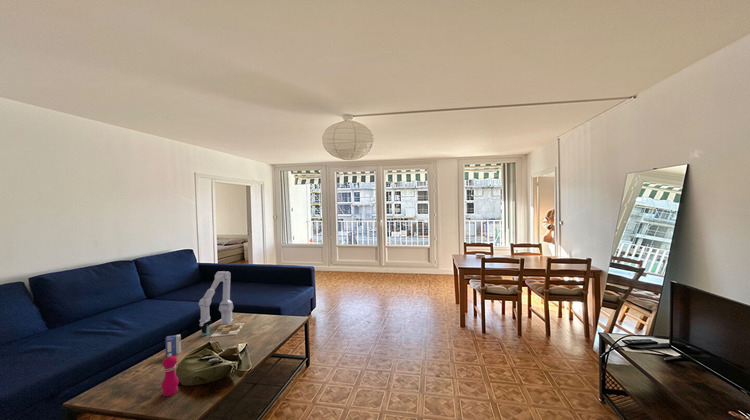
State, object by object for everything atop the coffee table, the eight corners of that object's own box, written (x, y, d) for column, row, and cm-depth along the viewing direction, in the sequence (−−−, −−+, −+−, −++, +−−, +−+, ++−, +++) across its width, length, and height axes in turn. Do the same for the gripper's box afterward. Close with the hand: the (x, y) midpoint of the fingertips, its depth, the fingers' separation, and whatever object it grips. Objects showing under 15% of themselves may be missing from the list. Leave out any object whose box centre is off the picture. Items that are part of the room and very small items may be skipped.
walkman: (165, 355, 181) (165, 337, 181) (167, 353, 183) (166, 335, 183) (179, 353, 183) (179, 335, 183) (181, 351, 186) (180, 333, 186)
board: (220, 326, 226) (220, 322, 226) (244, 324, 230) (244, 320, 230) (210, 337, 207) (210, 333, 207) (236, 334, 210) (236, 330, 210)
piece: (203, 333, 213) (203, 325, 213) (209, 333, 214) (209, 325, 214) (201, 335, 209) (201, 327, 209) (207, 335, 210) (207, 327, 210)
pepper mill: (176, 386, 149) (175, 349, 149) (180, 391, 144) (180, 353, 144) (159, 393, 143) (159, 354, 143) (163, 399, 138) (163, 359, 138)
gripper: (203, 311, 218) (203, 328, 218) (195, 318, 204) (195, 336, 204) (213, 310, 219) (213, 327, 219) (205, 317, 205) (205, 335, 205)
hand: (205, 331), depth 211 cm, fingers closed on piece, 4 cm apart
